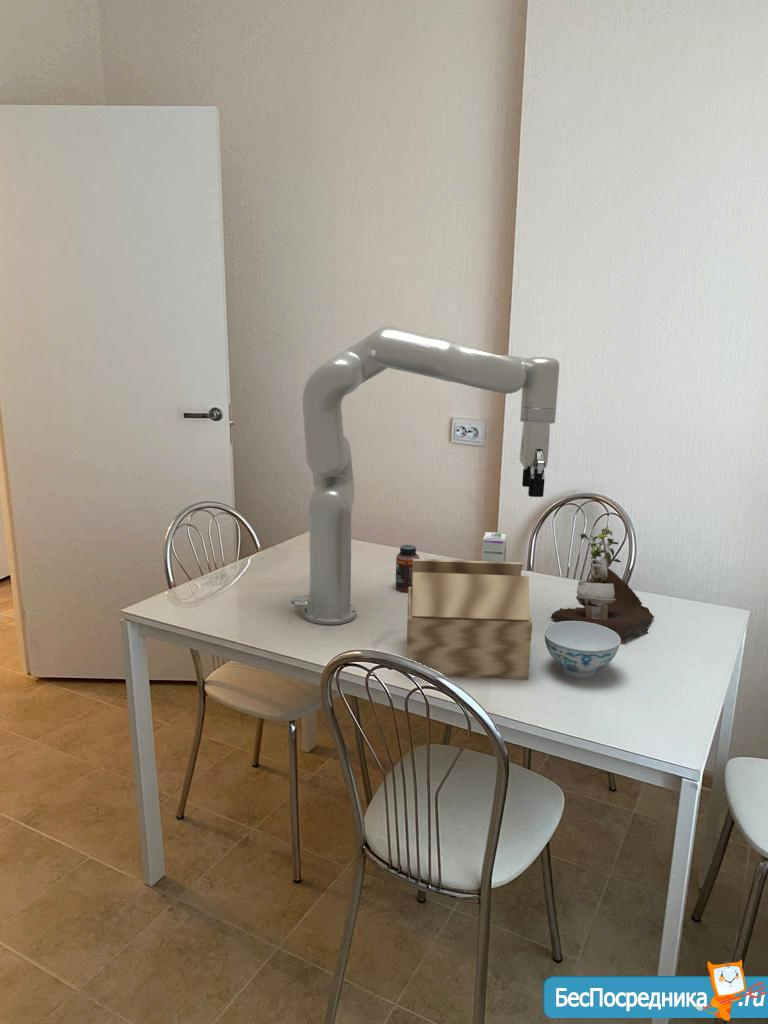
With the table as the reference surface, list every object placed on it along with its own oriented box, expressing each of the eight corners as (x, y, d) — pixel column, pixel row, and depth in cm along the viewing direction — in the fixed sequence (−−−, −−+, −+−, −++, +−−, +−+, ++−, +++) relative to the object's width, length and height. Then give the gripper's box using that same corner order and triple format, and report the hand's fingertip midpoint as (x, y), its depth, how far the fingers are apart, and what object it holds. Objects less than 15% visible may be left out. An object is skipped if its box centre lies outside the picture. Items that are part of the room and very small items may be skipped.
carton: (406, 674, 164) (408, 618, 161) (406, 638, 181) (408, 586, 178) (527, 679, 163) (532, 622, 160) (516, 642, 181) (520, 590, 178)
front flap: (411, 616, 161) (411, 615, 160) (412, 572, 164) (413, 572, 163) (529, 620, 160) (529, 619, 160) (528, 576, 163) (528, 576, 163)
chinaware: (570, 692, 158) (573, 655, 156) (527, 661, 172) (529, 626, 170) (632, 680, 164) (636, 644, 162) (586, 650, 178) (589, 617, 176)
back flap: (412, 560, 171) (412, 558, 172) (411, 585, 178) (411, 583, 178) (522, 564, 171) (522, 562, 171) (517, 588, 178) (517, 587, 178)
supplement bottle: (422, 587, 213) (424, 545, 210) (411, 594, 208) (412, 551, 205) (402, 583, 216) (404, 541, 213) (390, 589, 211) (392, 547, 208)
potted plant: (547, 633, 193) (553, 526, 194) (585, 630, 207) (590, 531, 208) (628, 642, 180) (633, 528, 181) (662, 639, 194) (667, 533, 195)
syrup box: (502, 593, 210) (506, 539, 207) (479, 591, 212) (482, 537, 208) (504, 586, 216) (507, 533, 212) (481, 584, 217) (484, 531, 213)
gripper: (515, 409, 189) (510, 482, 193) (526, 420, 172) (520, 500, 176) (548, 410, 188) (543, 483, 193) (562, 421, 172) (555, 501, 176)
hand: (532, 491), depth 184 cm, fingers open, 9 cm apart
